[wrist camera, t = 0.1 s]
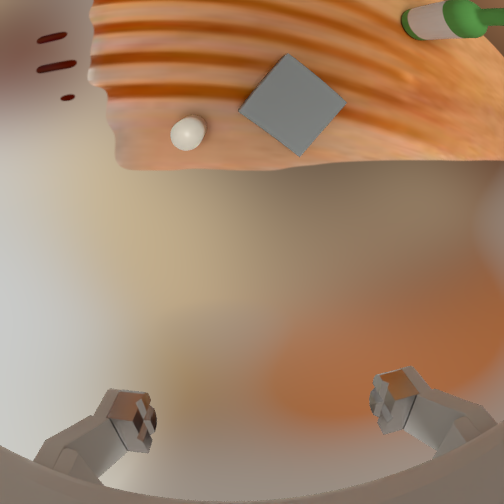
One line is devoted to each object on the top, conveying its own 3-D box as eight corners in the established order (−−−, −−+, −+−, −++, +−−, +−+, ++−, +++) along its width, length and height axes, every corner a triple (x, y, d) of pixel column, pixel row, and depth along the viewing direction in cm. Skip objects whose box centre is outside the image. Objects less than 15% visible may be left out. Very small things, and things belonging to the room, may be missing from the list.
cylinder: (189, 109, 49) (181, 113, 43) (212, 124, 51) (208, 130, 45) (173, 132, 52) (164, 139, 45) (196, 146, 54) (190, 156, 47)
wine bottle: (430, 42, 40) (532, 46, 15) (403, 39, 41) (507, 34, 16) (423, 12, 36) (522, 2, 11) (396, 7, 36) (494, -14, 11)
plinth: (283, 55, 44) (287, 53, 40) (338, 100, 49) (346, 102, 45) (238, 109, 50) (238, 111, 46) (294, 151, 55) (299, 157, 51)
